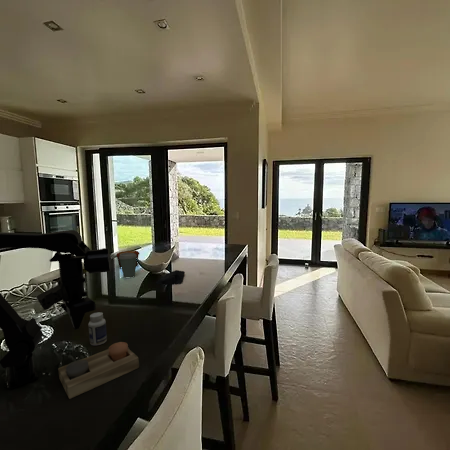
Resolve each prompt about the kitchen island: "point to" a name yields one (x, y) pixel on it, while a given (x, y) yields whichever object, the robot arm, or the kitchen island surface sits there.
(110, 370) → the plug board
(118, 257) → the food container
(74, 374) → the plug
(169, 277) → the dark slate chunk
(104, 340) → the pill bottle
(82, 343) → the kitchen island surface
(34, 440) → the kitchen island surface
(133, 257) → the disposable coffee cup
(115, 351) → the terracotta plug
